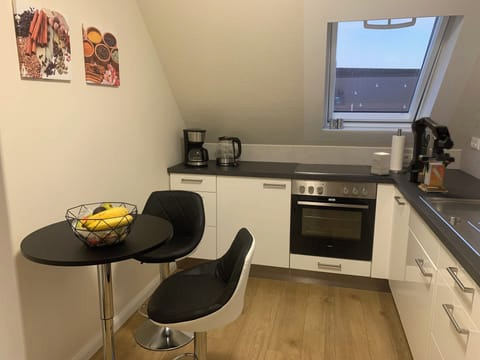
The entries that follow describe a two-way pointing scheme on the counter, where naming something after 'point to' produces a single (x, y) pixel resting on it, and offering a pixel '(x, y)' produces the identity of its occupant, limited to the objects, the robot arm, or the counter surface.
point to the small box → (434, 174)
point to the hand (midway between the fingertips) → (434, 172)
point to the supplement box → (380, 163)
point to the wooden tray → (432, 188)
